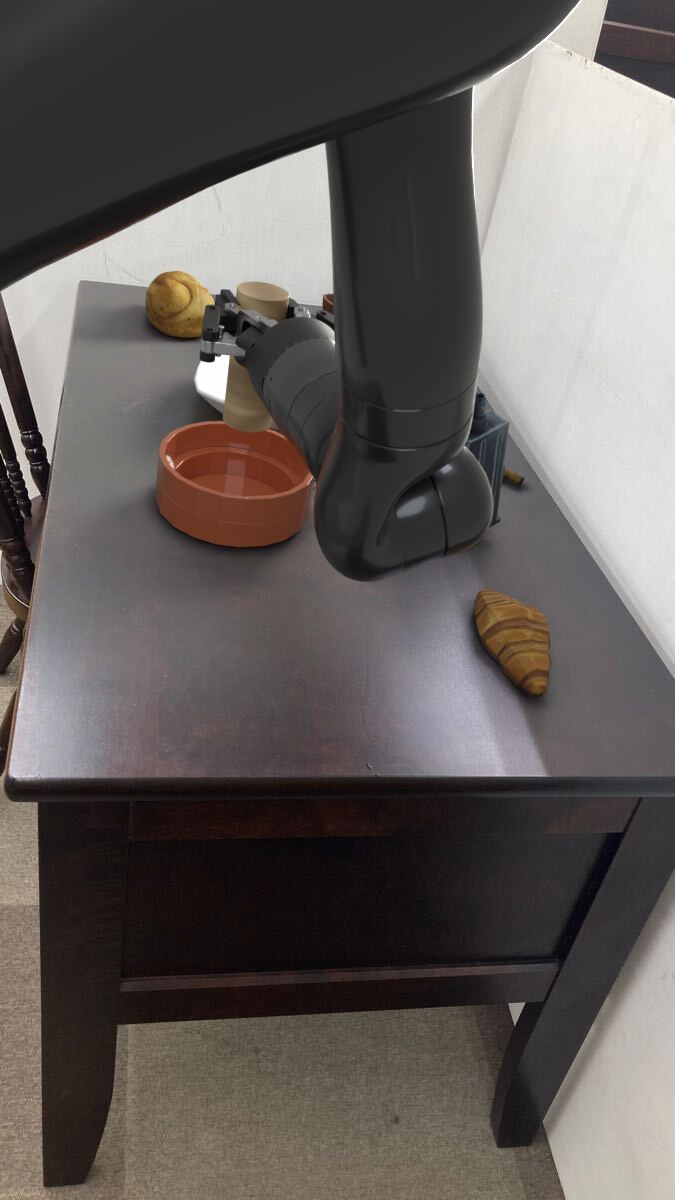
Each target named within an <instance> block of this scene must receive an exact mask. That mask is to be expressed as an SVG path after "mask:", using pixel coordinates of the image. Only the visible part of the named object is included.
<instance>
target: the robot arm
mask: <svg viewBox="0 0 675 1200" xmlns="http://www.w3.org/2000/svg"><path fill="white" fill-rule="evenodd" d="M581 2H582V0H0V292H2V291H4V290H6V289H8V288H9V287H12V286H13V285H14V284H16V283H18V282H20V281H22V280H23V279H25V278H27V277H29V276H31V275H32V274H35V273H36V272H38V271H40V270H42V269H44V268H46V267H49V266H51V265H52V264H55V263H57V262H59V261H61V260H63V259H65V258H68V257H69V256H72V255H74V254H76V253H78V252H80V251H82V250H84V249H86V248H88V247H91V246H93V245H95V244H98V243H99V242H102V241H104V240H106V239H108V238H110V237H112V236H114V235H116V234H119V233H120V232H122V231H124V230H126V229H128V228H130V227H132V226H134V225H137V224H139V223H140V222H143V221H144V220H147V219H149V218H151V217H153V216H154V215H156V214H159V213H161V212H162V211H165V210H166V209H168V208H170V207H172V206H174V205H176V204H178V203H180V202H182V201H184V200H187V199H188V198H190V197H192V196H194V195H196V194H198V193H201V192H202V191H203V192H204V191H205V190H207V189H209V188H211V187H213V186H216V185H218V184H220V183H223V182H225V181H227V180H229V179H233V178H235V177H237V176H240V175H243V174H244V173H248V172H250V171H252V170H254V169H258V168H260V167H263V166H265V165H269V164H271V163H274V162H276V161H280V160H281V159H284V158H287V157H290V156H292V155H295V154H298V153H300V152H303V151H306V150H309V149H312V148H314V147H318V146H320V145H323V144H324V149H325V159H326V170H327V182H328V183H327V185H328V197H329V216H330V237H331V238H330V239H331V240H330V241H331V242H330V243H331V266H332V267H331V268H332V269H331V270H332V271H331V272H332V294H333V304H334V315H332V314H331V313H329V312H327V311H325V310H323V309H322V310H321V309H320V310H317V311H316V314H311V313H310V312H309V308H307V307H305V306H302V305H299V303H298V302H297V301H296V300H295V299H294V298H291V297H290V296H289V303H288V310H287V317H286V320H283V321H281V322H279V323H278V322H277V321H275V320H274V319H270V320H269V319H267V318H266V317H265V316H263V315H262V314H260V313H259V312H257V311H256V310H254V309H248V310H245V309H243V308H242V307H240V304H239V302H238V301H237V299H236V295H235V294H233V292H232V290H231V289H227V288H226V289H225V288H221V289H220V292H219V293H218V294H217V293H216V294H215V296H214V297H215V298H214V302H215V305H206V306H205V312H204V319H203V326H202V335H201V336H200V337H201V338H200V345H199V346H200V348H199V358H198V359H199V361H200V362H201V361H203V362H207V363H212V362H214V361H215V356H216V357H221V355H228V356H234V359H235V361H236V362H237V363H238V364H239V365H241V366H243V367H245V368H246V369H247V370H248V374H249V377H250V380H251V383H252V385H253V387H254V389H255V391H256V393H257V394H258V396H259V398H260V399H261V401H262V403H263V404H264V406H265V407H266V409H267V411H268V412H269V414H270V415H271V417H272V419H273V420H274V422H275V424H276V425H277V427H278V429H279V430H280V431H281V433H282V434H283V435H284V437H285V438H286V439H287V440H288V441H289V442H290V443H291V444H292V445H293V446H294V447H295V449H296V451H297V452H298V454H299V455H300V457H301V459H302V460H303V462H304V463H305V465H306V467H307V469H308V470H309V472H310V473H311V475H312V476H313V477H314V480H315V481H316V487H315V491H314V496H313V497H314V498H313V526H314V533H315V537H316V540H317V543H318V546H319V548H320V550H321V553H322V555H323V556H324V558H325V559H326V561H327V562H328V564H329V565H330V566H331V567H332V568H333V569H334V570H335V571H336V572H338V573H339V574H340V575H342V576H343V577H345V578H347V579H349V580H352V581H355V582H360V583H372V582H377V581H378V582H379V581H382V580H385V579H388V578H391V577H394V576H396V575H399V574H401V573H404V572H407V571H410V570H413V569H416V568H420V567H422V566H425V565H427V564H431V563H433V562H436V561H439V560H442V559H445V558H448V557H451V556H454V555H457V554H460V553H462V552H465V551H466V550H469V549H471V548H472V547H474V546H475V545H476V544H478V543H479V542H480V541H481V540H482V539H483V538H484V537H485V535H486V533H487V532H488V530H489V529H490V528H489V525H490V522H491V519H492V515H493V495H492V490H491V487H490V483H489V480H488V478H487V476H486V473H485V471H484V470H483V468H482V466H481V465H480V463H479V462H478V460H477V459H476V458H475V456H474V455H473V454H472V453H471V451H470V450H469V449H468V448H467V447H466V446H465V444H466V442H467V439H468V437H469V434H470V430H471V426H472V420H473V414H474V404H475V398H476V393H477V390H478V382H479V375H480V374H479V373H480V365H481V356H482V348H483V347H482V346H483V330H484V329H483V323H484V295H483V294H484V291H483V273H482V260H481V259H482V258H481V250H480V238H479V228H478V227H479V226H478V216H477V205H476V203H477V202H476V192H475V190H476V189H475V176H474V175H475V173H474V172H475V171H474V153H473V152H474V151H473V150H474V149H473V147H474V145H473V141H474V140H473V139H474V137H473V135H474V133H473V131H474V127H473V125H474V94H475V93H474V92H475V86H478V85H479V84H481V83H483V82H485V81H487V80H488V79H491V78H492V77H494V76H496V75H497V74H499V73H500V72H501V73H502V71H504V70H506V69H507V68H509V67H511V66H512V65H514V64H515V63H517V62H519V61H520V60H522V59H523V58H525V57H526V56H527V55H528V54H530V53H531V52H533V51H534V50H535V49H536V48H537V47H538V46H540V45H541V44H542V43H543V42H545V41H546V40H547V39H548V38H549V37H550V36H551V35H552V34H553V33H554V32H556V30H557V29H559V28H560V26H561V25H562V24H563V23H564V22H565V21H566V20H567V19H568V18H569V16H571V14H572V13H573V12H574V11H575V9H576V8H577V7H578V5H579V4H580V3H581ZM488 528H489V529H488Z"/></svg>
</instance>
